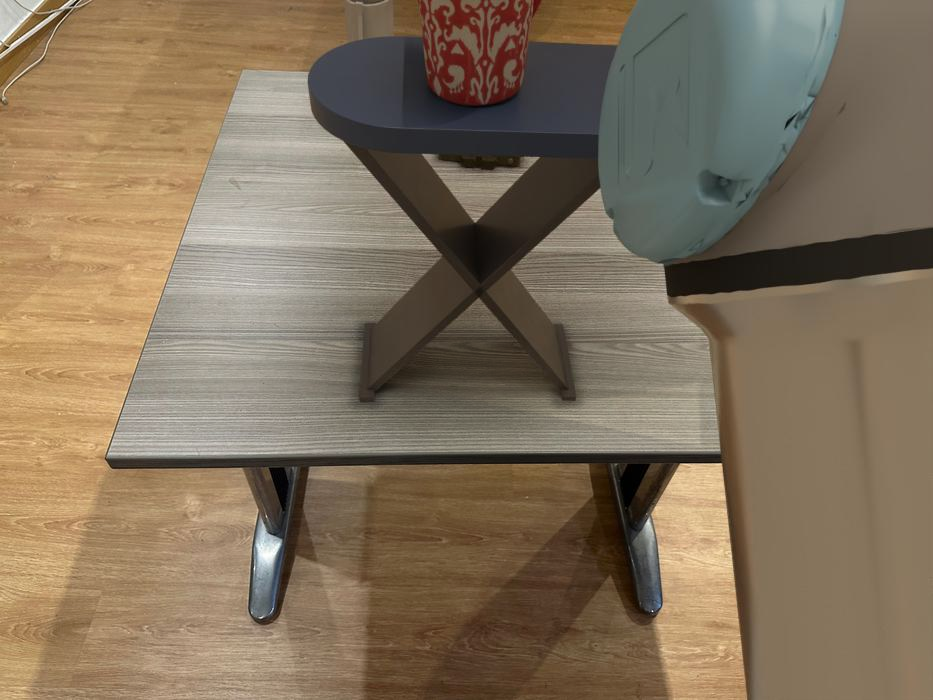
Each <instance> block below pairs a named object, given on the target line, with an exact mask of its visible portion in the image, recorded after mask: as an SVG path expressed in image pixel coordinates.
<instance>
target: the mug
mask: <svg viewBox="0 0 933 700" xmlns="http://www.w3.org/2000/svg"><path fill="white" fill-rule="evenodd" d="M542 1H543V0H417V3H418V11H419V17H420V18H419V19H420V28H421V37H423V46H424V56H425V66H426V75H427V80H428V84H429V86H430V88H431V89H432V91H433V92H434V93H435V94H437V95H438V96H439V97H441V98H443V99H445V100H447V101H450V102H453V103H456V104H462V105H470V106H479V105H489V104H494V103H498V102H501V101H503V100H506V99H508V98H509V97H511V96H513V95H514V94H515V93H516V92H517V91H518V90H519V89H520V87H521V86H522V83H523V79H524V74H525V66H526V60H527V50H528V43H529V42H530V36H531V35H530V34H531V26H532V21H533V18H534V17H535V15H536V13H537V11H538V9H539V7H540V5H541V4H542Z"/></svg>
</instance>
